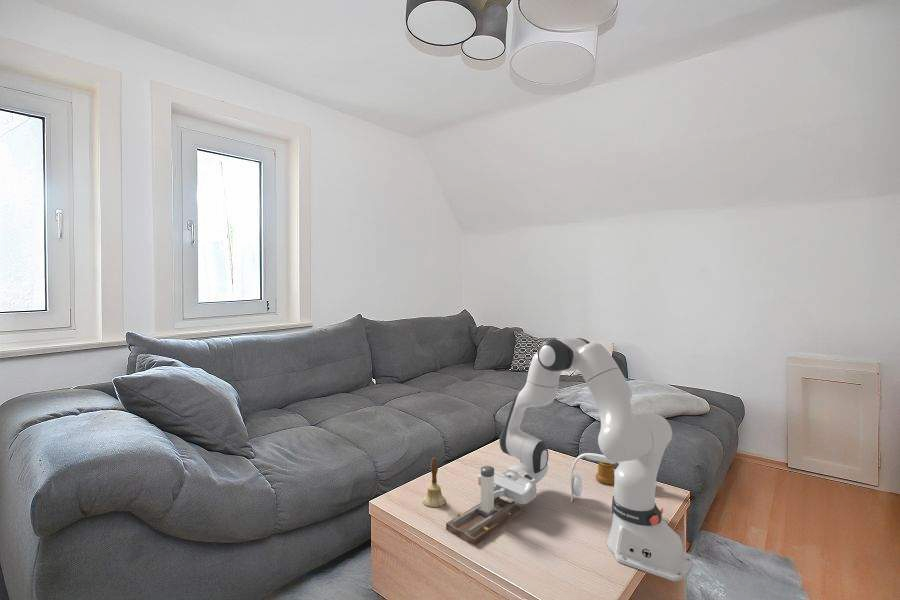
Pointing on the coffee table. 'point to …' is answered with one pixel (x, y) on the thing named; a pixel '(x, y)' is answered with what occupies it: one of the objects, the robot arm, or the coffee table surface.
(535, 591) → the coffee table surface
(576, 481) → the headset
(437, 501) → the hand bell
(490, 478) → the fader tab
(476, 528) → the fader track
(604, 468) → the ornamental finial
